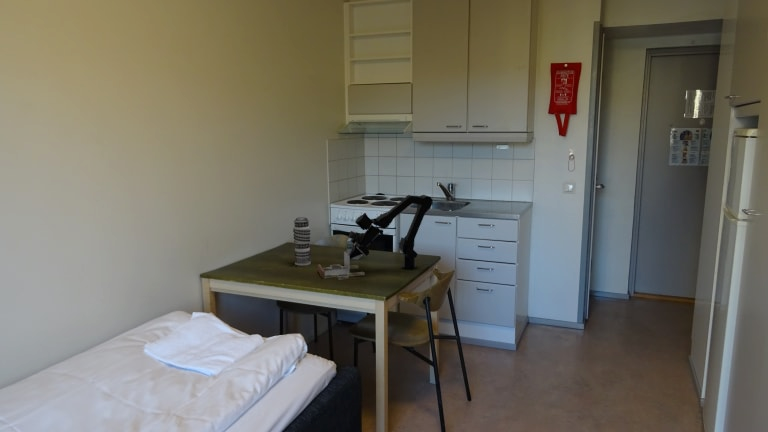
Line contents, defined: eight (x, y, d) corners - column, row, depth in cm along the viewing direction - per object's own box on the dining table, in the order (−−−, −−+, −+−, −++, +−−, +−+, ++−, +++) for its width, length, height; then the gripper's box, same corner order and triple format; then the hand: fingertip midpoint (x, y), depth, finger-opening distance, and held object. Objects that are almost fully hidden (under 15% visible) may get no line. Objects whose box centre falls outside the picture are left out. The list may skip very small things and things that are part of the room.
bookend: (346, 270, 268) (345, 251, 266) (349, 275, 259) (349, 255, 257) (322, 272, 265) (322, 253, 263) (326, 277, 256) (325, 257, 254)
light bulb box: (358, 260, 288) (358, 241, 287) (346, 259, 290) (346, 240, 288) (363, 255, 299) (362, 236, 297) (351, 254, 300) (351, 236, 298)
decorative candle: (290, 264, 279) (289, 218, 275) (301, 260, 288) (299, 215, 283) (304, 266, 275) (303, 219, 271) (314, 262, 283) (313, 217, 279)
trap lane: (356, 265, 276) (356, 259, 276) (366, 277, 255) (366, 270, 254) (316, 268, 270) (316, 262, 270) (324, 281, 249) (324, 274, 248)
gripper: (354, 222, 270) (333, 244, 269) (362, 229, 252) (340, 252, 251) (368, 236, 273) (348, 258, 272) (378, 243, 256) (356, 267, 255)
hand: (348, 258), depth 262 cm, fingers closed, pressing on bookend
